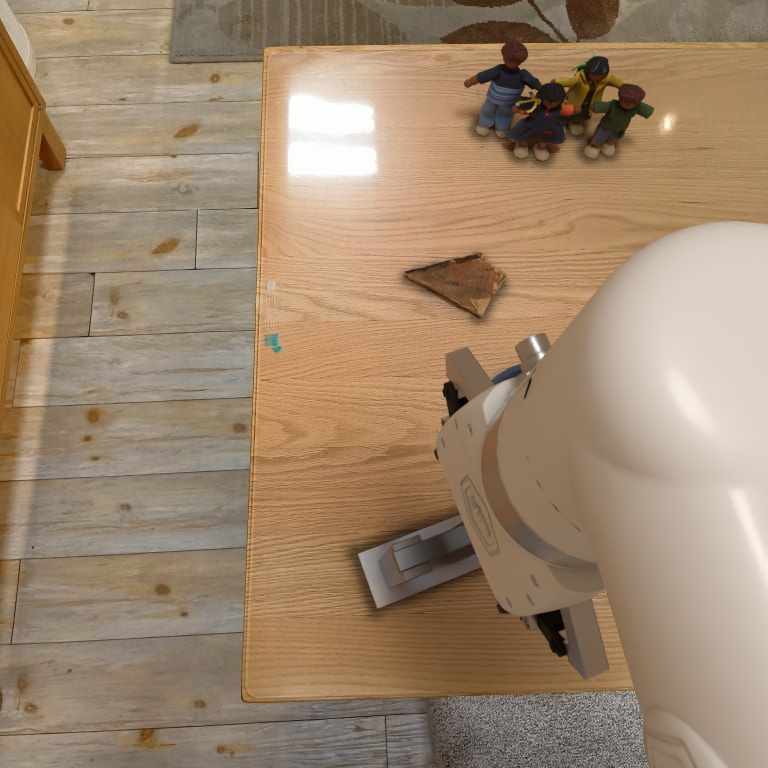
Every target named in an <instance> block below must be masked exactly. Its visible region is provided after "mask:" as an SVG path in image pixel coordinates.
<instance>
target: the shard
mask: <svg viewBox="0 0 768 768" xmlns="http://www.w3.org/2000/svg"><path fill="white" fill-rule="evenodd" d="M404 274H406V276H407V279H408V280H411V281H414V282H415V283H417V284H419V285H421V286H424V287H426V288H428V289H430V290H432V291H434V292H436V293H438V294H439V295H442V296H445V297H446V298H448V299H450V300H451V301H453V302H455V303H457V304H458V305H459V306H461V307H462V308H464V309H466V310H468V311H470V312H472V313H473V314H475V315H477V316H478V317H480V318H483V316H484V313H485V312H486V310H487V308H488V307H489V305H490V304H491V302H492V300H493V298H494V297H495V295H496V293H498V291H499V290H500V288H502V285H503V283H504V282H505V280H506V279H507V275H508V273H507V272H506V271H504V270H503V269H501V268H500V267H497V266H496V265H494V264H493V263H491V262H490V261H489V260H488V259H486V257H484V255H483V253H482V252H478V253H474V254H468V255H464V256H463V257H455V258H452V259H447V260H443V261H439V262H435V263H432V264H429V265H426V266H423V267H419V268H412V269H409V270H405V271H404Z"/></svg>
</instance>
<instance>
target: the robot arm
mask: <svg viewBox="0 0 768 768" xmlns="http://www.w3.org/2000/svg"><path fill="white" fill-rule="evenodd" d="M514 350H515V352H516V354H517V356H518V358H519V360H520V363H519V364H520V365H519V366H520V369H521V371H522V373H521V374H519V375H518V376H517V377H514V378H511V379H508V380H505V381H502V382H500V383H498V384H496V385H494V384H493V382H492V381H491V380H492V379H491V378H490V376H489V375H488V374H487V372H486V371H485V369H484V368H483V367H482V365H481V364H480V362H479V361H478V359H477V358H476V357H475V355H474V354H473V352H472V351H471V349H470V348H469V347H467V346H465V347H462V348H459V349H456V350H453V351H449V352H447V353H445V357H444V358H445V373H446V374H445V375H446V377H447V379H448V381H446V382H444V383H443V388H442V389H441V391H442V396H443V397H444V398H445V402H446V407H447V413H448V415H446V416H443V417H440V423H441V428H440V430H439V433H438V435H437V437H436V443H435V448H434V450H433V454H434V456H435V458H436V460H438V462H439V464H440V467H441V470H442V473H443V476H444V478H445V480H446V483H447V486H448V488H449V491H450V493H451V496H452V499H453V502H454V503H455V505H456V508H457V510H458V513H459V514H460V516H461V518H462V521H463V523H464V526H465V528H466V530H467V533H468V535H469V538H470V540H471V543H472V545H473V547H474V550H475V552H476V555H477V557H478V559H479V562H480V564H481V567H482V568H481V569H482V571H483V574H484V576H485V579H486V581H487V583H488V585H489V587H490V590H491V591H492V594H493V595H494V598H495V599H496V603H497V604H495V606H496V609H497V611H498V613H499V615H501V614H502V615H503V614H505V615H513V616H516V617H519V619H520V621H521V622H523V625H524V626H525V628H526V629H527V631H529V632H531V631H533V630H536V629H539V631H540V632H541V634H542V635H543V637H544V638H545V640H546V641H547V643H548V647H549V649H550V651H551V652H552V653H553V654H556V656H557V657H558V658H563V657H565V656H566V657H567V661H568V663H569V665H571V666H572V667H573V669H574V670H576V672H577V673H578V674H579V675H580V676H581V677H582V678H583V679H584V680H585V681H587V680H589V679H592V678H594V677H596V676H598V675H601V674H603V673H605V672H607V671H610V663H609V660H608V656H607V652H606V648H605V645H604V641H603V637H602V633H601V629H600V625H599V621H598V617H597V614H596V609H595V606H594V601H593V598H596V597H597V596H599V595H601V594H603V593H604V592H605V593H606V596H607V600H608V603H609V605H610V609H611V613H612V616H613V620H614V623H615V626H616V630H617V633H618V637H619V640H620V644H621V647H622V651H623V655H624V658H625V661H626V665H627V669H628V672H629V675H630V678H631V679H630V680H631V682H632V685H633V689H634V693H635V696H636V700H637V702H638V706H639V710H640V712H641V716H642V719H643V721H642V742H643V748H644V752H645V753H644V754H645V757H646V761H647V764H648V768H768V223H762V222H760V223H759V222H752V221H751V222H749V221H739V220H726V221H724V220H723V221H711V222H706V223H700V224H696V225H692V226H688V227H684V228H680V229H677V230H674V231H672V232H671V233H668V234H666V235H664V236H661V237H659V238H656V239H655V240H653V241H651V242H649V243H648V244H646V245H644V246H643V247H641V248H640V249H638V250H636V251H635V252H634V253H633V254H631V255H630V256H629V257H627V258H626V259H625V260H624V261H623V262H622V263H621V264H620V265H619V266H618V267H617V268H616V269H614V271H613V272H612V273H611V274H610V275H609V276H608V277H607V278H606V279H605V280H604V281H603V282H602V283H601V285H599V287H598V288H597V289H596V291H595V292H594V293H593V294H592V296H591V297H590V298H589V300H588V301H587V302H586V303H585V304H584V305H583V307H582V308H581V309H580V311H578V313H576V315H575V316H574V318H573V319H572V320H571V321H570V323H569V324H568V325H567V327H565V329H563V331H562V333H561V334H559V336H558V337H557V338H556V339H555V341H554V343H553V344H551V342H550V340H549V337H548V335H547V334H546V333H545V332H540V333H537V334H533V335H531V336H528V337H526V338H525V339H523V340H521V341H520V342H519V343H517V344H516V345H515V347H514Z"/></svg>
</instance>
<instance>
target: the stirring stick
mask: <svg viewBox="0 0 768 768" xmlns="http://www.w3.org/2000/svg"><path fill="white" fill-rule="evenodd" d="M469 545H472V543H471V540H470V538H469V535H468V533H467V530H466V528H465V526H464V525H462V526H459V527H456V528H454V529H451V530H449V531H446V532H444V533H441V534H438V535H436V536H433V537H431V538H428V539H426V540H423V541H420V542H418V543H415V544H413V545H410V546H407V547H405V548H402V549H400V550H397V551H395V552H393V553H392V554H391V555H392V558H393V560H394V563H395V566H396V568H397V571H398V573H401V572H403V571H406V570H408V569H411V568H413V567H416V566H418V565H421V564H424V563H426V562H429V561H431V560H434V559H436V558H439V557H441V556H444V555H446V554H449V553H451V552H454V551H457V550H459V549H462V548H464V547H467V546H469Z"/></svg>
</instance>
